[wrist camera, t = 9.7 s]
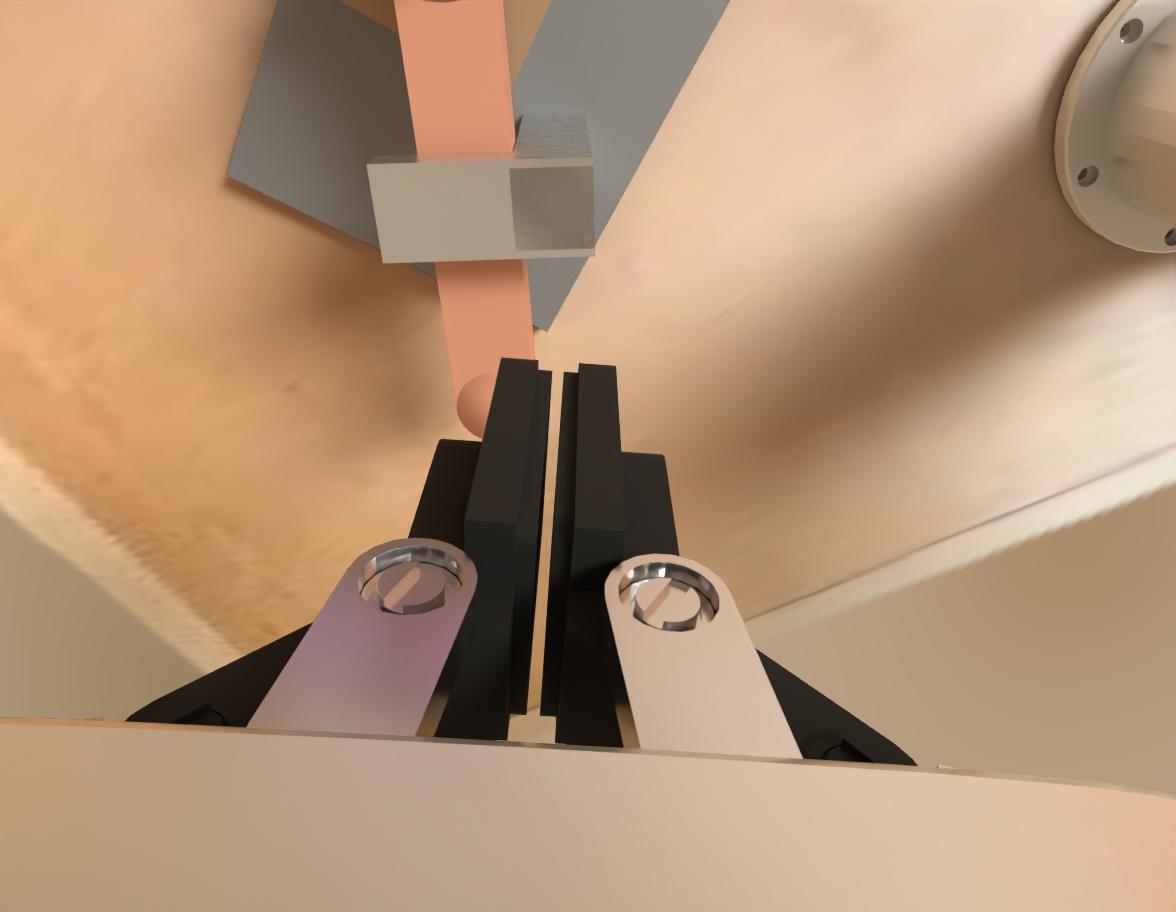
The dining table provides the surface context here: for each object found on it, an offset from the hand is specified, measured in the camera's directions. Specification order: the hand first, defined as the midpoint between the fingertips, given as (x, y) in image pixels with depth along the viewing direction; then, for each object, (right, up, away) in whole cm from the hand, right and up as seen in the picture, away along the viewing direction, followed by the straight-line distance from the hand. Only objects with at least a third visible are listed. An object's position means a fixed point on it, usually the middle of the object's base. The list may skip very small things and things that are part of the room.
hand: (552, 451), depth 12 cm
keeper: (-3, +13, +22) cm, 26 cm away
